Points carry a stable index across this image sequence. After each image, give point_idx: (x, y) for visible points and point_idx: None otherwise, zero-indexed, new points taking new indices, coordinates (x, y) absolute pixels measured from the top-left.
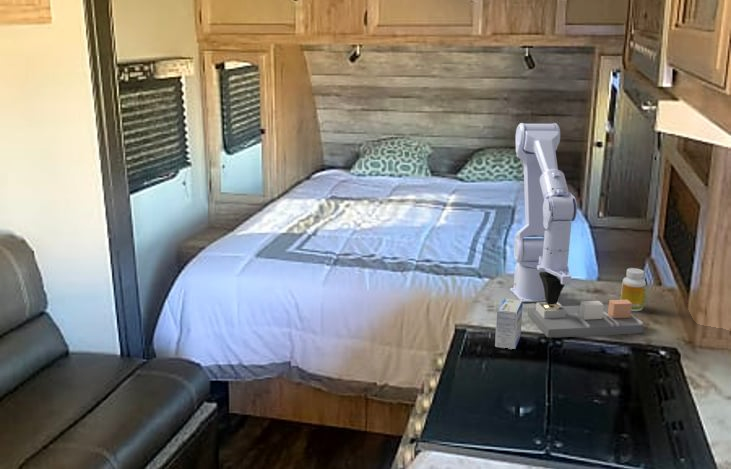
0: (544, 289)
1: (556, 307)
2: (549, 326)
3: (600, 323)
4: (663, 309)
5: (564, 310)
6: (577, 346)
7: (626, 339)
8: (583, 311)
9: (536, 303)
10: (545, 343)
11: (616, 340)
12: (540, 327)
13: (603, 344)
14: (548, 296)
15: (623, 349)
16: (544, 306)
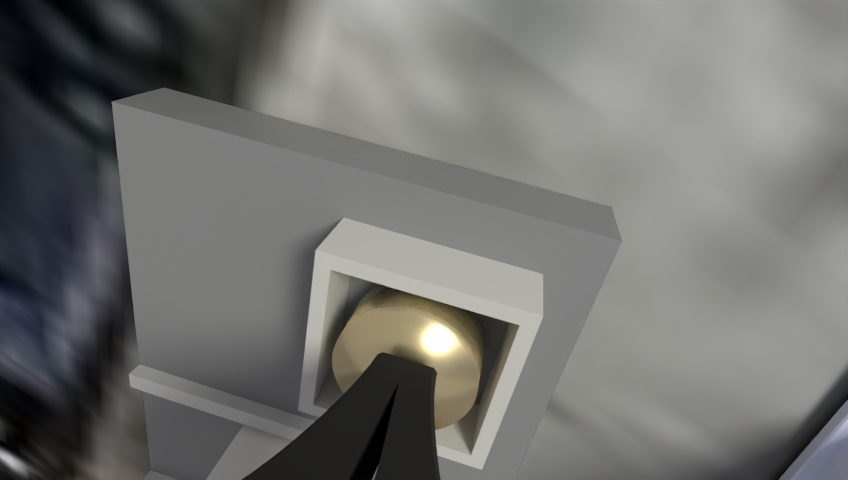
0: (415, 475)
1: (340, 378)
2: (169, 147)
3: (193, 457)
4: None
5: (301, 397)
6: (38, 189)
7: (129, 447)
8: (231, 473)
9: (539, 310)
10: (72, 5)
11: (119, 407)
12: (306, 132)
13: (72, 329)
14: (334, 408)
15: (22, 365)
16: (403, 311)
